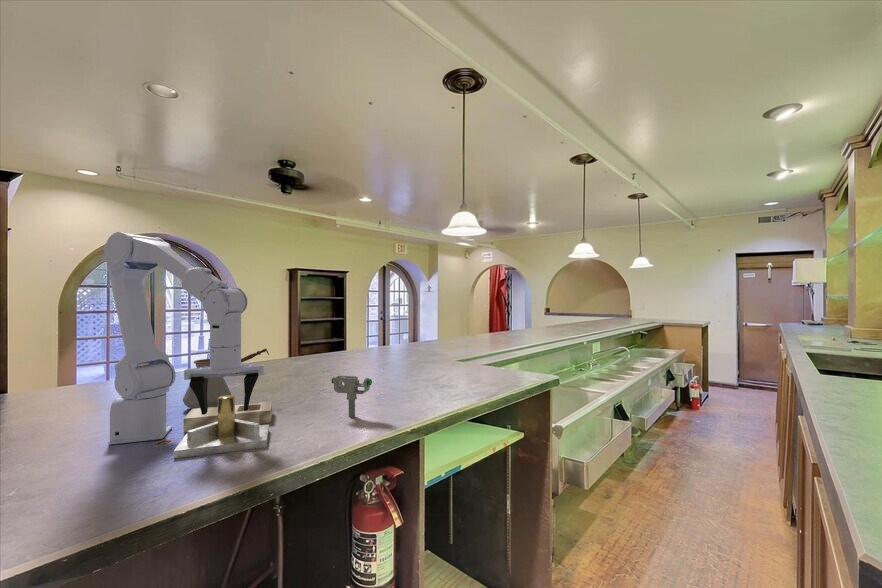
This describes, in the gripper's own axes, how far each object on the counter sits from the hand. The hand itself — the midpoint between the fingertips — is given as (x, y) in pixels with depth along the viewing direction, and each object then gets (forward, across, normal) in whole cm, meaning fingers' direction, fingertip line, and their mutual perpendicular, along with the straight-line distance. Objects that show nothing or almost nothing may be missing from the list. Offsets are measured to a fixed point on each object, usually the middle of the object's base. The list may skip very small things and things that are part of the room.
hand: (225, 411), depth 82 cm
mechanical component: (+7, +27, +9) cm, 29 cm away
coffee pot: (+7, -4, +32) cm, 33 cm away
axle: (+5, 0, +1) cm, 5 cm away
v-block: (+7, 0, 0) cm, 7 cm away
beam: (+7, -1, +15) cm, 16 cm away
